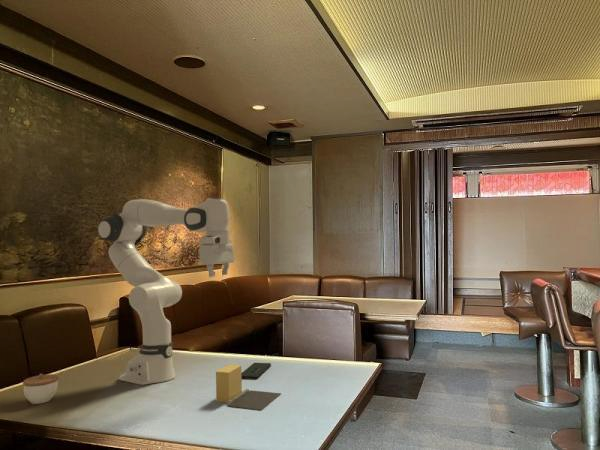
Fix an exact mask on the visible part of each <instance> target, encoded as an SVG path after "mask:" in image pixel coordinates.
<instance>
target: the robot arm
mask: <svg viewBox="0 0 600 450" xmlns="http://www.w3.org/2000/svg"><path fill="white" fill-rule="evenodd" d="M229 224H230V210H229V203H228V202H227V200H226V199H224V198H219V197H208V198H206V200H205V201H203V202H202V203H200V204H198V205H196V206H193V207H190V208H188V209H183V208H179V207H177V206H174V205H169V204H166V203H165V202H164V203H163V202H160V201H157V200H154V199H153V200H152V199H144V198H141V199H132V200H131V199H130V200H129V201H127V202H126V203H124V205H123V207H122V211H121V213H120V214H118V213H116V212H115V213H112V214H111V215H109V216H107V217H104V218H102V219H101V220H100V221H99V222H98V224H97V228H96V230H97V231H96V233H97V236H98V237H99V239H100V240H102V241H105V242H108V243H112V244H111V245H110V246H109V249H108V257H109V259H110V261H111V262H112V264H113V265H114V267H115V269H116V270H117V271H118V273H119V274H120V275H121V276H122V277H123V279H124V280H125V281H126V282H127V284H129V285H131V286H132V287H133V288H132V289H131V290H130V292H129V294H128V302H129V305H130V307H131V308H132V309H133V310H135V312H137V314H138V315H139V316H138V317H139V319H140V321H141V326H142V344H140V345H138V346H137V345H136V346H137V348H136V349H137V350H138V349H139V352H138V354H137V355H135V356H134V357H133V358H132V359H130V360H129V361H128V362H127V364H126V366H125V372H124V373H123V374H121V375H120V376H119V379H118V380H119V381H123V382H127V383H132V384H136V385H141V386H143V385H148V384H156V383H157V384H158V383H162V382H166V381H167V382H168V381H171V380H172V379H174V378H176V376H177V375H176V372H175V369H174V361H173V341H172V324H171V321H170V320H169V319H168V318H167V317H166V316H165V313H164V308H167V307H171V306H173V305H176V304H177V303H178V302H180V300H181V299H182V297H183V289H182V286H181V285H180V284H179V283H178V282H176V281H174V280H171V279H170V278H168V277H166V276H165V275H163V274H162V273H160V272H159V271H157V270H156V269H155V268H154V267H152V265H150V264H149V262H148V261H147V260H146V259H145V258H144V257H143V255H142V254H141V253H140V252H139V251H138V250H137V248H136V247H135V246H138V245H139V244H141V241H142V240H143V239H144V237H145V236H146V234H147V230H148V229H147V228H148V227H151V228H152V227H166V226H175V225H185V227H186V229H187V230H189V231H192V232H201V233H205V235H203V236H202V237H200V238H198V244H199V245H200V246H199V249H198V250H199V251H198V252H199V258H198V259H199V262H200V265H202V266H205V265H206V269H207V272H208V277H209V278H210V277H211V278H212V277H215V276H216V275H215V273H216V271H214V265H218V264H222V270H221V275H222V276H226V275H228V272H229V268H230V263H234V262H235V260H236V259H235V247H234V245H233V243H232V241H231V240H230V238H231V237H230V228H229Z"/></svg>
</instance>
